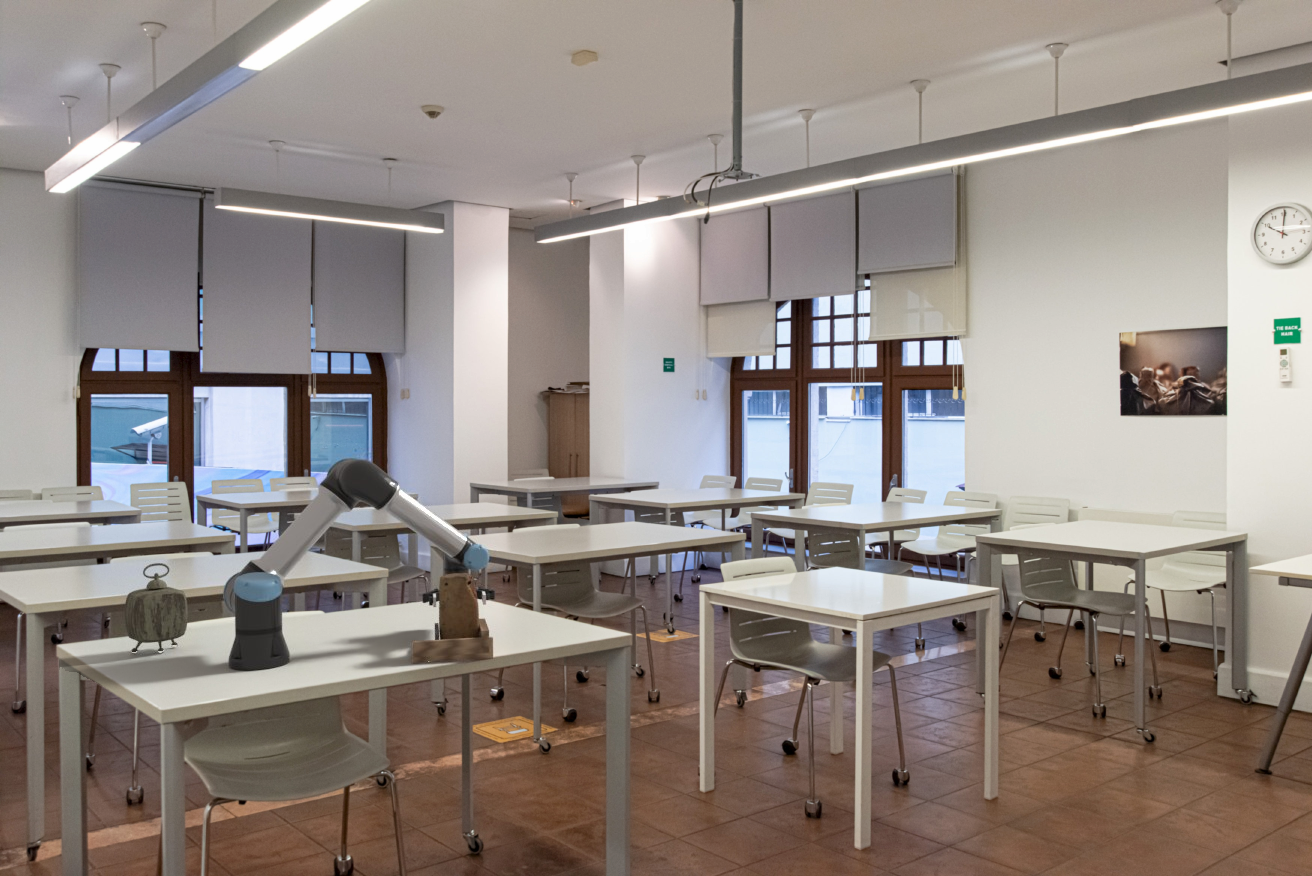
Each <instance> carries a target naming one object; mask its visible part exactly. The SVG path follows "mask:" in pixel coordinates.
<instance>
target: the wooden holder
mask: <svg viewBox="0 0 1312 876" xmlns="http://www.w3.org/2000/svg"><path fill="white" fill-rule="evenodd" d="M488 626H489V625H488V623H487V621H486V618H479V637H478V638H461V639H444V640H440V632H439V622H434V639H430V640H426V639H425V640H413V641H411V645H412V648H411V649H412V655H411V656H412V664H420V663H419V662H426V663H429V662H428V661H442V662H452V661H453V662H455V661H471V660H472V659H473V660H482V659H483V660H486V659H489V660H490V659H494V637H493V636H490V630H489V627H488Z"/></svg>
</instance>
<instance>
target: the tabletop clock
mask: <svg viewBox="0 0 1312 876" xmlns="http://www.w3.org/2000/svg"><path fill="white" fill-rule="evenodd" d="M157 566H162V567H165V568H166V569H167V571H166V572H165V573H163V574H161V575H159V573H158V572H155V573H154V575H153V576H152V575H147V574H146V571H147V570H148V569H149V568H151V567H157ZM169 573H170V568H169V566H168V565H167V564H165V563H163V562H162V563H160V562H155V563H151V564H148V565H147V566H146V567H144V568H143V570H142V575H143V576H144V577H146V578H148V579H152V580H149V582H148V583H147V584H146V587H145V588H141V589H136V590H133V591H131V592H129V593H127V596H126V599H125V604H124V617H123V618H124V625H125V626H124V627H125V631H126V634H127V637H128V638H130V639H131V640H133V641H136V642H137V644H136V645H135V647H133V648H132V649H131V651H132V652H136V651H139V647H140V646H141V644H142V643H143V644H144V643H145V644H151V643H158V647H159V648H158V649H157V652H158V651H163V650H164V651H165V649H164V647H162V643H163V642H166V641H167V642H168V641H171V643H170V644H171V645H177V646H178V642H176V641H175V640H176V639H179V638H181V637H183V636H184V635H185V633H186V631H187V628H188V619H189V610H188V609H189V607H188V599H187V596H186V593H185V591H184V590H181V589H178V588H174V587H170V586H168V585H167V583H166V581H164V580H163V579H162V578H164V577H166V576H168V574H169ZM132 652H131V653H132Z"/></svg>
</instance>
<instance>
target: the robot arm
mask: <svg viewBox="0 0 1312 876" xmlns="http://www.w3.org/2000/svg"><path fill="white" fill-rule="evenodd" d="M317 487H318V492H317V495H316V496H315V497H314V498H313V499H312V500H311V501H310V503H309V504H308V505H307V506H306V507H305V508H304V509H303V510H302V511H301V512H300V513H299V514H298V515H297V517H296V518H295V519H294V520H293V522H291V523H290V525H289V526H288V527H287V528H286V529H285V530H284V531H283V532H282V533H281V535H279V537H278V538H277V539H276V540H275V541H274V542H273V543H272V544H271V546H269V548H268V549H267V550H266V551H265V552H264V553H263V554H262V556H260V558H258V559H251V560H249V562H248V563H246V565H245V566H244V567H243V568H242V569H241V571H237V573H235V574H233V575H232V576H231V577H229V578H228V579H227V581H226V582H225V584H224V587H223V590H222V598H223V602H224V604H225V606H226V607H227V609H228V611H230V612H232V613H233V614H234V625H235V626H234V628H235V629H234V630H235V631H234V635H235V636H234V640H233V643H232V646H231V649H230V653H229V656H228V668H230V667H231V668H230V669H232V668H235V669H234V670H239V671H241V670H242V671H243V670H244V671H245V670H247V671H248V670H249V671H255V670H263V669H264V670H265V669H271V668H276V667H281V666H283V665H287V664H289V663H290V661H291V659H290V658H291V657H290V656H291V655H290V653H291V652H290V650H289V647H288V644H287V642H286V640H285V636H284V634H283V597H282V596H283V588H284V587H285V578H286V577H287V576H288V575H289V573H291V571H292V570H293V569H294V568H295V566H296V565H298V563H299V562H300V561H301V560H302V558H304V557H305V555H306V554H307V553H308V552H309V551H310V550H311V548H312V547H313V546H314V545H315V544H316V543H317V542H318V540H319V539H320V538H321V537H322V536H323V535H324V534H325V533H326V531H328V530H329V528H330V527H331V526H332V525H333V524H334V523H335V521H337V519H338V518H339V517H340V516H341V515H342V514H344V513H351V511H353V509H354V508H355V507H356V506H357V505H358V504H359V502H362V503H364V504H367V505H369V506H371V507H372V508H374V510H377V511H385V512H386V513H387V514H389V515H390V516H392V517H393V518H395V520H397V521H399V523H401V524H403V525H404V526H406V527H407V528H409V529H410V530H411V531H413V532H415V533H416V534H417V535H419V536H420V537H421V538H423V539H425V540H426V541H428V542H429V543H430V544H432V545H433V546H435V547H436V548H438V550H441V552H442V553H443V567H444V568H443V575H445V574H454V573H459V574H462V573H468V574H470V571H480V570H483V569H484V568H486V566H487V565H488V563H489V562H490V561H489V560H490V552H489V550H488V549H487V548H486V547H485V546H484V545H482V544H481V543H480V544H479V543H476V542H475V541H473V540H472V539H471V538H469V535H468V534H467V532H465V533H464V532H461V531H459V530H458V529H457V528H456V527H454V526H453V525H451V524H450V523H449V522H447V521H446V520H445V519H443V518H441V517H440V516H439V515H437V513H435V512H433V511H432V510H431V509H430V508H428V507H426V506H425V505H424V504H422V503H421V502H420V501H418V500H417V499H415V498H414V497H412V495H410V494H409V493H407V492H406V491H404V490H403V489H402V488H401V487H400V483H399V482H398V481H397V480H395V479H394V478H393V477H392V476H390V475H389V474H388V473H386V472H385V471H384V470H383V469H382V468H380V467H379V466H378V465H377V464H375V463H374V462H372V461H370V460H367V459H361V458H360V459H358V458H354V457H353V458H352V457H349V458H342V459H341V460H338V461H336V462H335V463H333V464H332V465H331V466H330V467H329V469H328V470H327V473H326V476H325V478H324V479H323V480H322V481H321V482H320V483H319V484H318V486H317ZM476 593H477V600H481V602H482V604H483V605H487V601H490V600H491V601H492V600H493V601H494V600H496V590H494V589H490V588H485V587H482V586H477V587H476ZM437 602H438V603H439V588H437V587H436V588H434V589H432V590H429V591H427V592H425V593H422V604H426V603H428V606H433V608H437Z"/></svg>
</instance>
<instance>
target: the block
mask: <svg viewBox="0 0 1312 876" xmlns="http://www.w3.org/2000/svg"><path fill="white" fill-rule="evenodd" d="M438 585H439V587H438V589H439V601H438V603H439V604H438V625H439V640H444V639H461V638H478V637H479V619H480V614H479V613H480V612H479V602H478V601H479V599H477V593H476V588H477V587H476V582H475V579H474V576H472V575H471V574H470V573H469V574H468V573H462V574H459V573H454V574H445V575H444V574H443V575H442V576H440V577H439V584H438Z"/></svg>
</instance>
